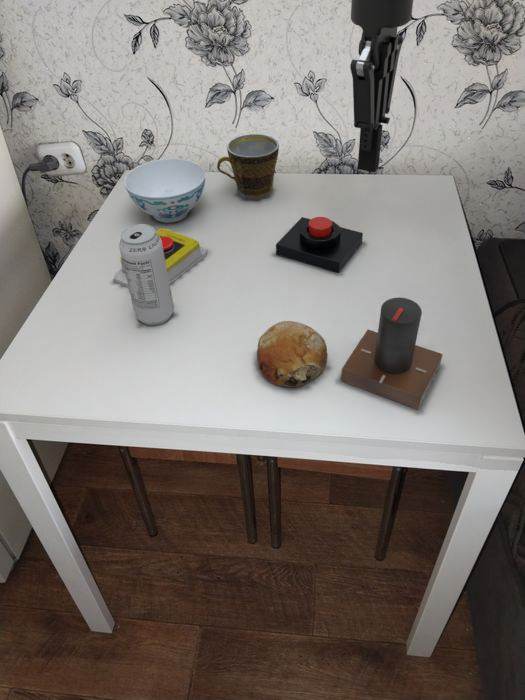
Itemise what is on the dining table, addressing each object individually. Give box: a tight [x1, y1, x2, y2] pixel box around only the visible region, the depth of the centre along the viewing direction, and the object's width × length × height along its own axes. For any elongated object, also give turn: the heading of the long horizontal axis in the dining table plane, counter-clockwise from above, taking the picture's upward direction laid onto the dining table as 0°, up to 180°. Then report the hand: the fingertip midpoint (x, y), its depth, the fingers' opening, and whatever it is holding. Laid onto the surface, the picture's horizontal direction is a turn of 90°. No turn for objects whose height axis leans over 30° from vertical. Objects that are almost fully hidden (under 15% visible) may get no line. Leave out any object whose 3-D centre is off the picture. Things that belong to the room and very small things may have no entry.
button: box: [308, 216, 333, 237], centre depth 101 cm, size 4×4×2 cm
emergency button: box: [113, 228, 208, 289], centre depth 100 cm, size 9×4×15 cm
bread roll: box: [256, 320, 328, 388], centre depth 82 cm, size 10×10×8 cm
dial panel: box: [340, 329, 443, 411], centre depth 81 cm, size 11×9×3 cm
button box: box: [275, 216, 364, 274], centre depth 103 cm, size 12×10×4 cm
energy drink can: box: [118, 223, 175, 326], centre depth 87 cm, size 6×6×15 cm
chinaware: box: [123, 158, 206, 223], centre depth 112 cm, size 15×15×8 cm
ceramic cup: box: [216, 133, 280, 201], centre depth 115 cm, size 13×10×10 cm
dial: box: [374, 297, 423, 374], centre depth 77 cm, size 5×5×9 cm
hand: (368, 168), depth 88 cm, fingers closed
